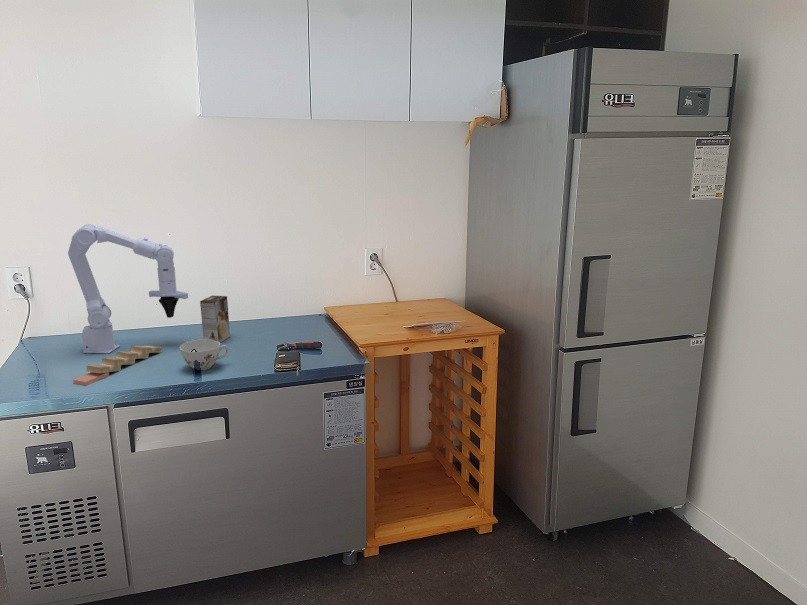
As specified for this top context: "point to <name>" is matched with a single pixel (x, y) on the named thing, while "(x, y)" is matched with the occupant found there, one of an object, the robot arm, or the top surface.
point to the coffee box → (215, 318)
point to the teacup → (202, 352)
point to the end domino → (90, 378)
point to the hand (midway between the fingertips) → (170, 316)
